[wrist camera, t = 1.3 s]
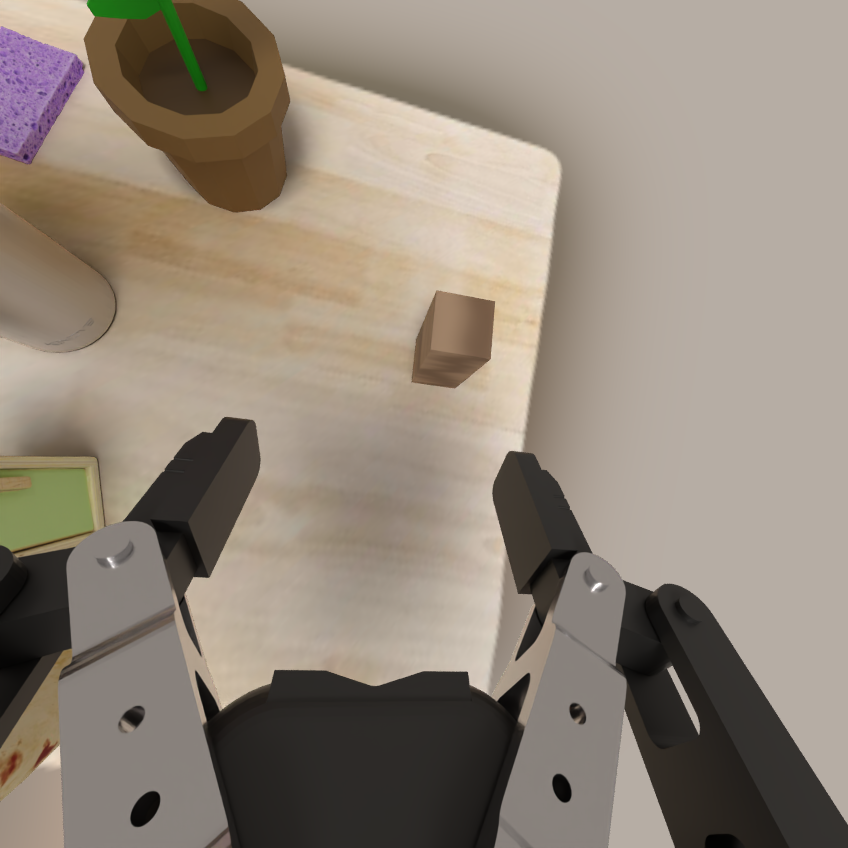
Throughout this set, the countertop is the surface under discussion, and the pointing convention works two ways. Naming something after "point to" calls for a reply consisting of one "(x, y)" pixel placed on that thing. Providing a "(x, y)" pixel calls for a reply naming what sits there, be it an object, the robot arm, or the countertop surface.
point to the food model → (33, 732)
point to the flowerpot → (197, 91)
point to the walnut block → (453, 340)
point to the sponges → (32, 91)
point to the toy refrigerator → (48, 502)
